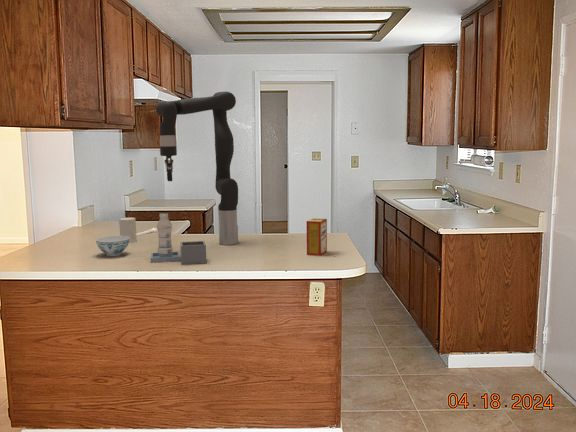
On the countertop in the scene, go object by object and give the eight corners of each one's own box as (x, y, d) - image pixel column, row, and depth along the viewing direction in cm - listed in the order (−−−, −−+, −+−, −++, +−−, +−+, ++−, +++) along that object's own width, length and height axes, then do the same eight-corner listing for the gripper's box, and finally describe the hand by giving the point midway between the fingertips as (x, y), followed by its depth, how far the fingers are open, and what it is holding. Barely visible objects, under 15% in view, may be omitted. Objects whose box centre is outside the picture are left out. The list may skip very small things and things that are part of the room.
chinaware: (95, 253, 277) (94, 237, 276) (127, 250, 283) (127, 234, 282) (98, 259, 264) (97, 242, 263) (132, 256, 270) (131, 239, 269)
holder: (204, 258, 263) (204, 240, 262) (206, 263, 254) (205, 244, 253) (180, 259, 261) (180, 242, 260) (181, 264, 252) (180, 246, 251)
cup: (132, 243, 302) (131, 220, 300) (117, 242, 303) (116, 219, 302) (139, 240, 310) (138, 217, 308) (125, 239, 311) (123, 217, 310)
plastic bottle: (158, 256, 266) (156, 212, 263) (174, 256, 266) (172, 212, 264) (156, 259, 260) (154, 214, 257) (172, 259, 260) (170, 214, 257)
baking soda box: (320, 255, 266) (320, 220, 263) (306, 254, 268) (306, 220, 266) (326, 251, 274) (326, 217, 272) (313, 250, 277) (313, 217, 274)
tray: (179, 255, 270) (179, 251, 270) (180, 261, 259) (179, 256, 258) (151, 257, 267) (151, 252, 267) (150, 262, 256) (150, 258, 256)
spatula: (126, 241, 310) (126, 235, 310) (120, 240, 312) (120, 235, 312) (159, 232, 336) (158, 227, 335) (153, 231, 337) (153, 227, 337)
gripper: (176, 145, 265) (178, 181, 267) (176, 144, 278) (177, 179, 281) (159, 146, 263) (161, 182, 265) (159, 145, 277) (161, 179, 279)
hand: (169, 180), depth 273 cm, fingers open, 8 cm apart
